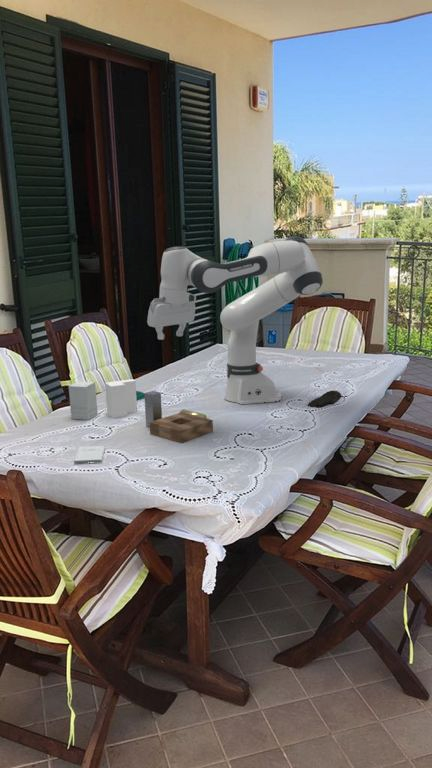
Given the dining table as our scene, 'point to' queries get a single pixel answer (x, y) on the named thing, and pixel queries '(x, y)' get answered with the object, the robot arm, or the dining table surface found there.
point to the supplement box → (83, 400)
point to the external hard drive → (90, 454)
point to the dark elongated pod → (326, 399)
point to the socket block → (181, 427)
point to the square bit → (152, 406)
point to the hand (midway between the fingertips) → (170, 337)
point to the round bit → (193, 413)
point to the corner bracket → (121, 398)
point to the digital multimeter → (139, 395)
